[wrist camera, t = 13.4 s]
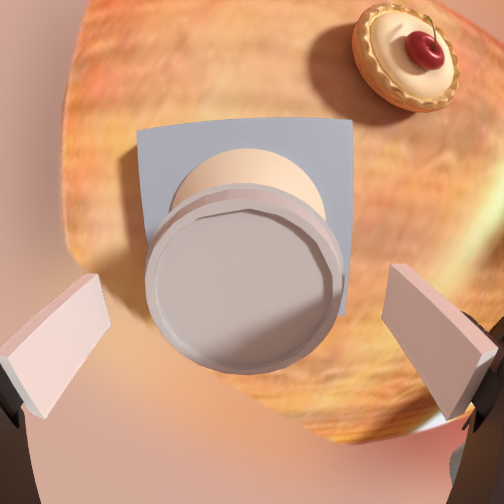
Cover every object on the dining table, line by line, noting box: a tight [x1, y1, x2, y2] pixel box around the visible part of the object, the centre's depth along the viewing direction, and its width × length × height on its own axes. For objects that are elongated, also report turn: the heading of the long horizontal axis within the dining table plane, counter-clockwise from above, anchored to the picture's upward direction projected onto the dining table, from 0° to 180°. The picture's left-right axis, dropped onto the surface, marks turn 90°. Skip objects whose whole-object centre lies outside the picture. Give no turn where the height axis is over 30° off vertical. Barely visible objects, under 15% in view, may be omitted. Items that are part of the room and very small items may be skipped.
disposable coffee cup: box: [145, 183, 345, 375], centre depth 17 cm, size 10×10×12 cm
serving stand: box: [137, 117, 354, 316], centre depth 25 cm, size 18×18×4 cm
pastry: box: [352, 3, 460, 113], centre depth 18 cm, size 12×12×9 cm
